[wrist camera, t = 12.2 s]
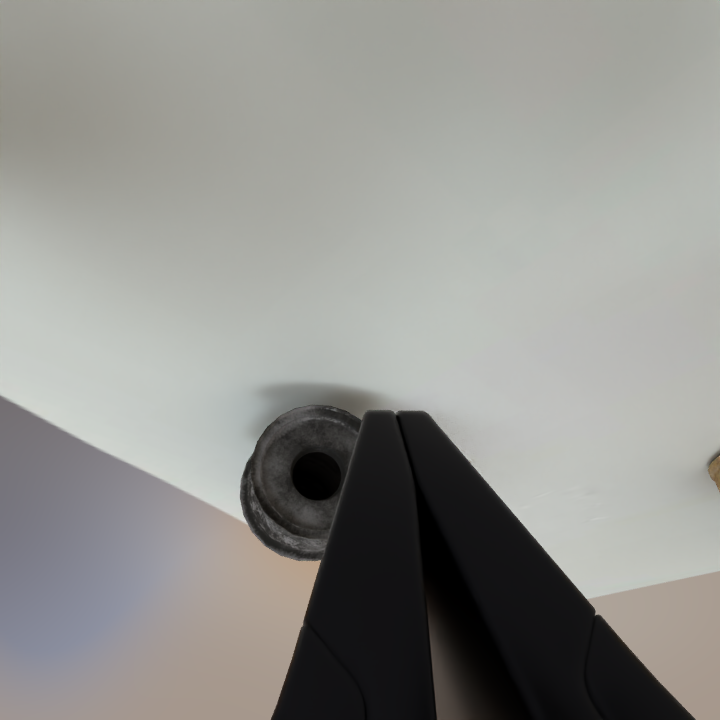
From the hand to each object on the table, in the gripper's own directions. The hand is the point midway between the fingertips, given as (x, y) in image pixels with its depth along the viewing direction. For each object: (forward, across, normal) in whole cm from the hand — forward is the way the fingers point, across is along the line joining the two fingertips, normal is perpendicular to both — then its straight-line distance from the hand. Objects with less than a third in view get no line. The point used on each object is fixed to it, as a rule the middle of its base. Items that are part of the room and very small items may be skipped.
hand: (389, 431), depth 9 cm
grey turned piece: (+10, 0, +12) cm, 16 cm away
